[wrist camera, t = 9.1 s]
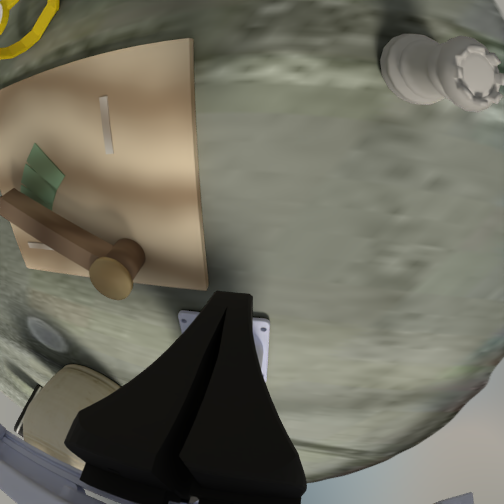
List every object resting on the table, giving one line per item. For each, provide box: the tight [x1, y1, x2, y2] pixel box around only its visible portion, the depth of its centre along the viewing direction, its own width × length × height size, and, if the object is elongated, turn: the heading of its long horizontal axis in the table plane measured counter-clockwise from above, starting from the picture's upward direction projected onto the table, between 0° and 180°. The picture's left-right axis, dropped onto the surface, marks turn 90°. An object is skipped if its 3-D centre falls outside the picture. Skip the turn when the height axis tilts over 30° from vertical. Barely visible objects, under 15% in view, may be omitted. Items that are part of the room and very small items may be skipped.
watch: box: [0, 0, 59, 60], centre depth 11 cm, size 6×3×6 cm, turn 135°
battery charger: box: [14, 385, 42, 437], centre depth 43 cm, size 7×4×11 cm, turn 138°
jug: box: [23, 364, 121, 471], centre depth 29 cm, size 15×16×25 cm
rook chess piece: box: [380, 33, 504, 112], centre depth 11 cm, size 4×4×8 cm
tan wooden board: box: [0, 38, 209, 291], centre depth 21 cm, size 18×20×1 cm
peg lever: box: [0, 188, 145, 300], centre depth 21 cm, size 14×3×4 cm, turn 62°
